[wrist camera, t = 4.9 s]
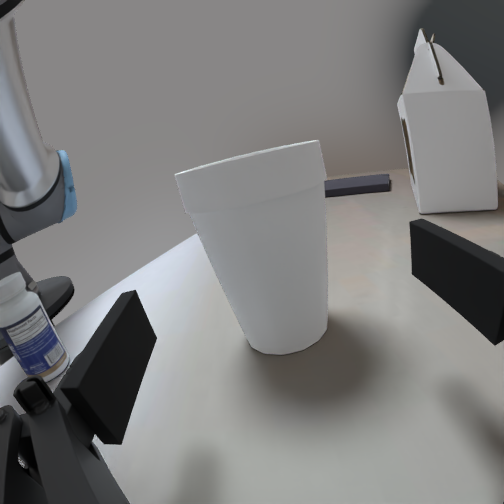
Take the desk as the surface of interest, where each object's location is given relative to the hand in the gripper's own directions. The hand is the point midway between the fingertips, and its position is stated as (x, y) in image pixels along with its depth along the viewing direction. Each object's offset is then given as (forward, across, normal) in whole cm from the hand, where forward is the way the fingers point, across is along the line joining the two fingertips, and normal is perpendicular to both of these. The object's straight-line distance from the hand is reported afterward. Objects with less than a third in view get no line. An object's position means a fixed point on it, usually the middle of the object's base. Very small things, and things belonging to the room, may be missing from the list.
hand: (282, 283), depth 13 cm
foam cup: (+7, 0, -8) cm, 11 cm away
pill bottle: (+7, -23, -8) cm, 26 cm away
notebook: (+54, +21, -8) cm, 58 cm away
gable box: (+31, +34, -8) cm, 47 cm away
